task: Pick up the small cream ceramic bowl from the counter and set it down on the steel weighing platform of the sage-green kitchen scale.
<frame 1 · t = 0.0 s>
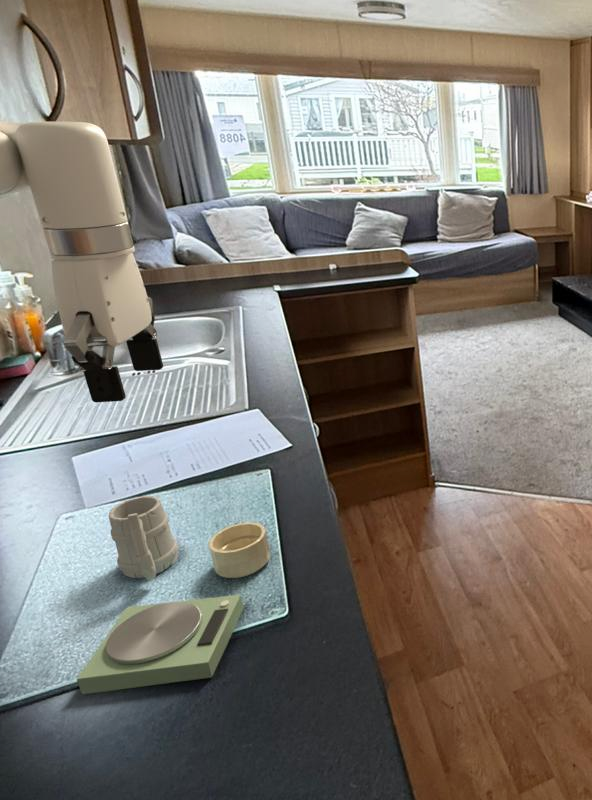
hand: (130, 384, 78), 33 cm above the counter, tool pointing down, fingers open, 9 cm apart
mug: (152, 571, 96), on the counter
platform: (155, 631, 81), point 3 cm above the counter, slide at 0.0 cm
bowl: (243, 564, 98), on the counter
scale: (169, 648, 82), on the counter
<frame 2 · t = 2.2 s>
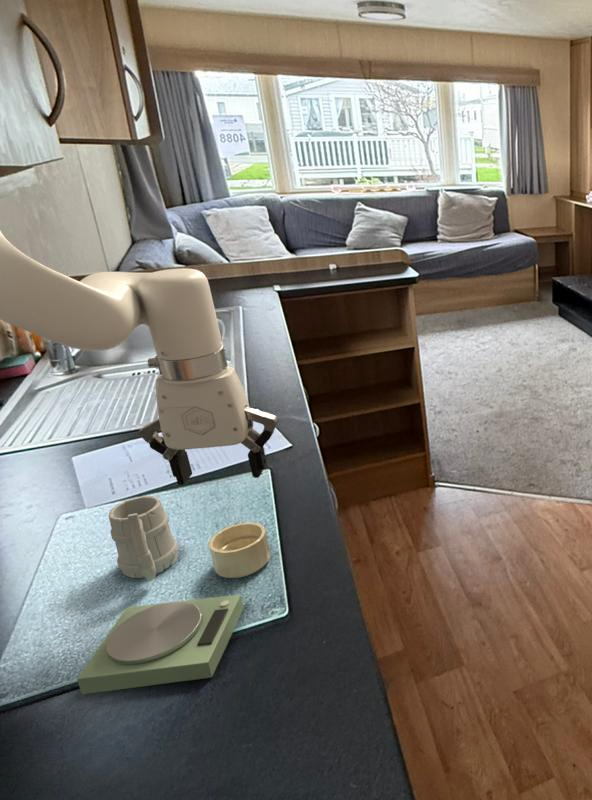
hand: (222, 476, 92), 16 cm above the counter, tool pointing down, fingers open, 9 cm apart
nothing on the counter moved.
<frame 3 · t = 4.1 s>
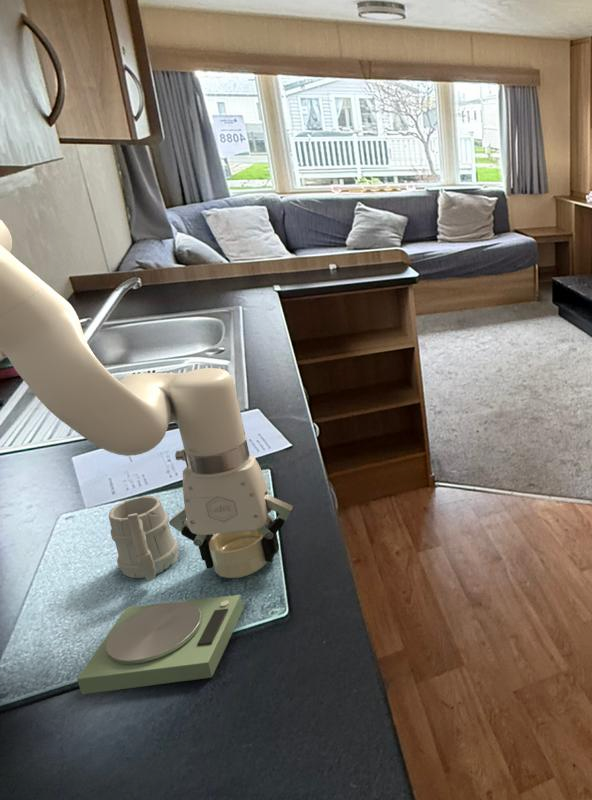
hand: (242, 558, 97), 1 cm above the counter, tool pointing down, fingers closed on bowl, 7 cm apart
bowl: (243, 564, 98), on the counter, touching gripper
everything else where it was.
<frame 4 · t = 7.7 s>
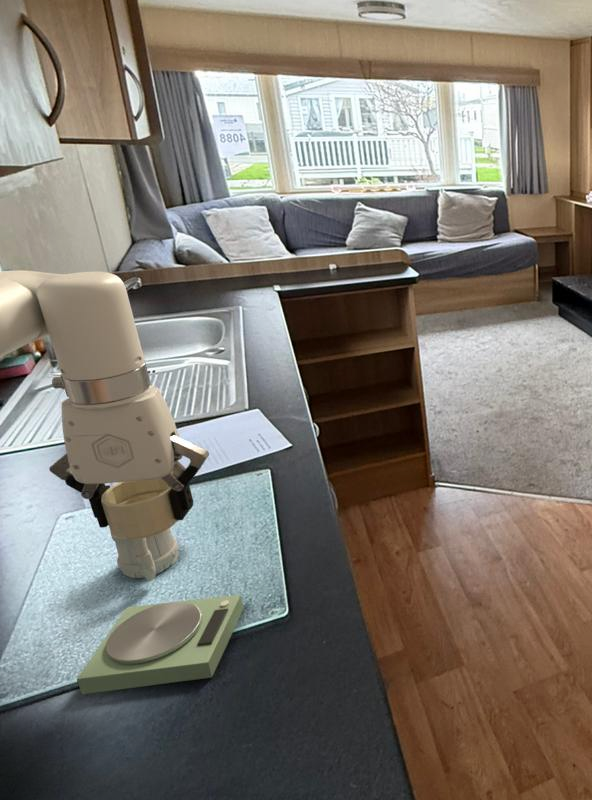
hand: (147, 516, 79), 18 cm above the counter, tool pointing down, fingers closed on bowl, 7 cm apart
bowl: (149, 524, 79), point 16 cm above the counter, touching gripper
everything else where it was.
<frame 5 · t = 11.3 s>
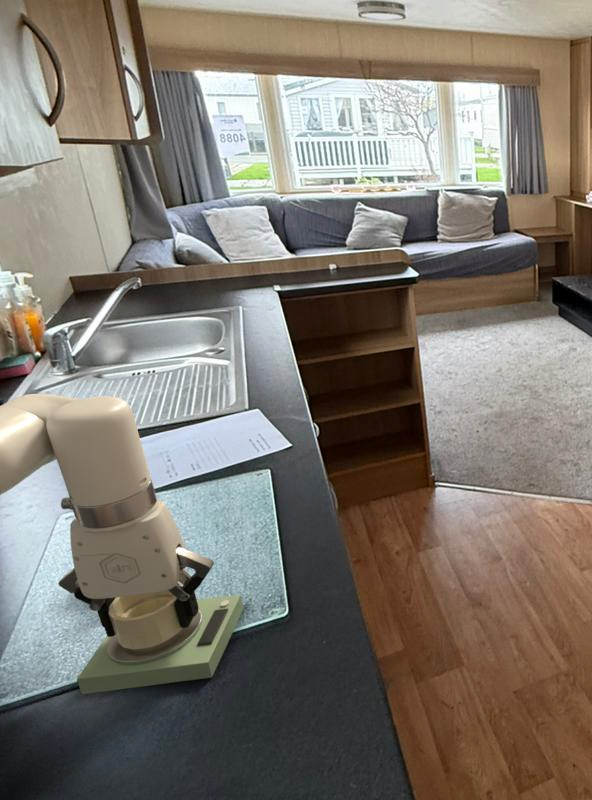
hand: (153, 623, 81), 4 cm above the counter, tool pointing down, fingers closed on bowl, 7 cm apart
platform: (155, 632, 81), point 3 cm above the counter, slide at -0.2 cm, touching bowl, scale
bowl: (155, 630, 81), point 3 cm above the counter, touching gripper, platform
everything else where it was.
when the fingers open (4 cm above the counter, at t = 11.6 s): bowl stays where it is, resting on platform.
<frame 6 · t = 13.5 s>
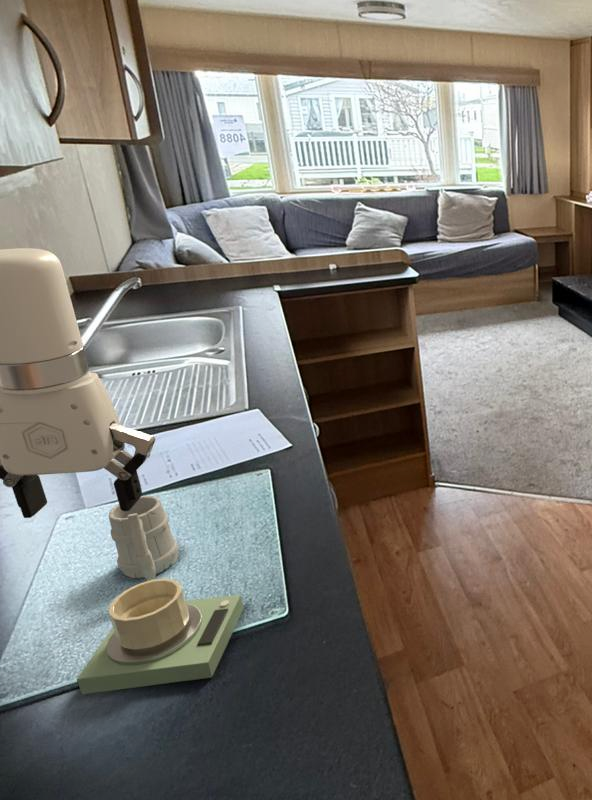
hand: (84, 507, 74), 21 cm above the counter, tool pointing down, fingers open, 9 cm apart
platform: (155, 632, 81), point 3 cm above the counter, slide at -0.2 cm, touching bowl
bowl: (155, 630, 81), point 3 cm above the counter, touching platform
everything else where it was.
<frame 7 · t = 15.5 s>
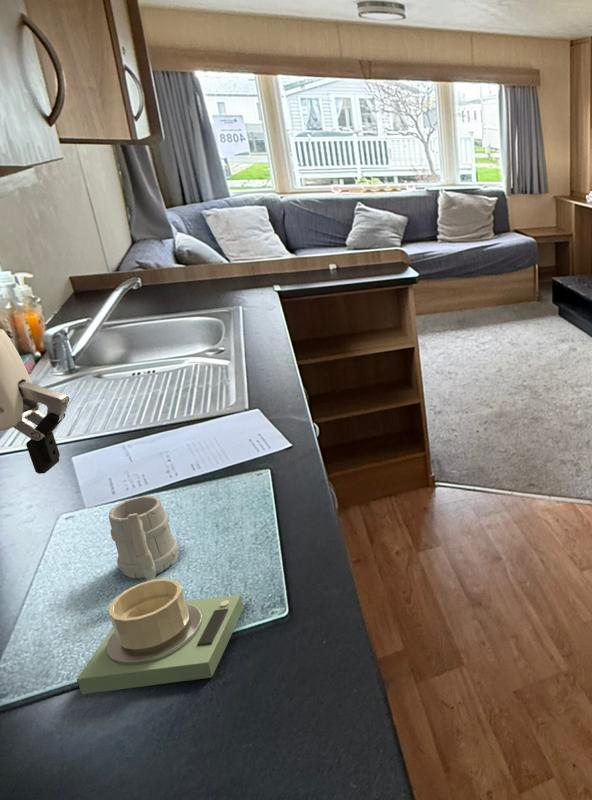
nothing on the counter moved.
at the end: bowl 0.1 cm off-centre on the platform, point 3.2 cm above the platform's base; bowl touching platform; bowl tilted 0° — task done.
